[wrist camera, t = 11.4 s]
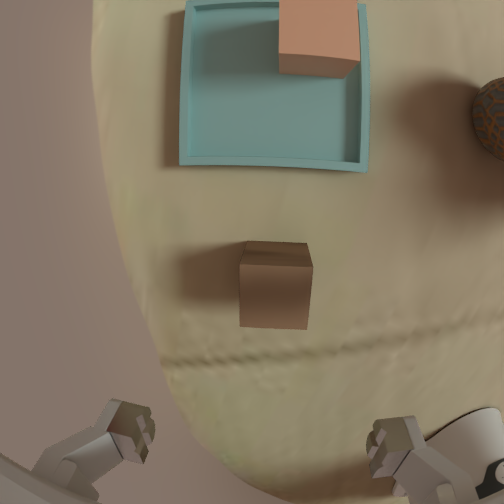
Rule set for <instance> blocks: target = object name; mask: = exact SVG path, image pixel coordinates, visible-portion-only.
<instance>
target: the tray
mask: <svg viewBox="0 0 504 504" xmlns="http://www.w3.org/2000/svg"><path fill="white" fill-rule="evenodd" d="M357 8H358V23H359V43H360V62H359V63H358V64H357V65H356V66H355V67H354V68H353V69H352V70H351V71H350V72H349V73H348V74H347V75H346V76H345V77H344V79H340V78H331V77H321V76H310V75H295V74H279V0H189V1H186V7H185V18H184V30H183V44H182V61H181V82H180V115H179V165H251V166H281V167H301V168H317V169H331V170H343V171H354V172H365V173H367V172H368V155H369V132H370V62H369V40H368V25H367V12H366V5H365V4H359V3H357Z"/></svg>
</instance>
